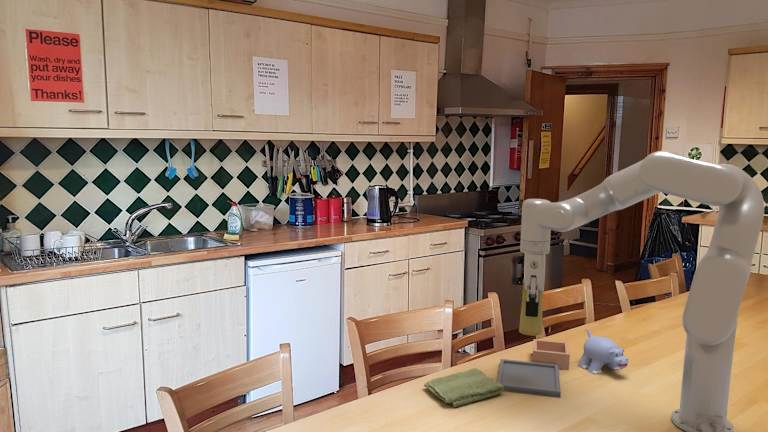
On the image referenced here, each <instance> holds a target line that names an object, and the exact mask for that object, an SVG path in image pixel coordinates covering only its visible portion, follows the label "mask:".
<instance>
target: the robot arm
mask: <svg viewBox="0 0 768 432" xmlns="http://www.w3.org/2000/svg"><path fill="white" fill-rule="evenodd" d="M661 193H664V194H666V195H669V196H673V197H677V198H681V199H684V200H688V201H691V202H696V203H699V204H702V205H706V206H711V207H718V213H717V218H716V220H715V224H714V227H713V233H712V236H711V240H710V242H709V245H708V247H707V248H708V249H707V251H706V253H705V254H704V255H703V257H702V258H701V259H700V260H699V262H698V263H697V266H696V269H695V271H694V274H693V277H692V278H693V279H692V281H691V285H690V288H689V292H688V295H687V298H686V303H685V306H684V309H683V313H682V317H681V321H682V322H681V323H682V328H683V329H684V331H685V333H686V337H685V345H684V346H685V347H684V356H683V367H682V378H681V379H682V380H681V387H680V389H681V391H680V401H679V408H677V409H674V410H673V411H672V412H671V417H670V419H671V421H672V423H673V424H674V425H675V426H676V427H678V428H679V429H680V430H683V431H684V432H734V425H733V423H732V422H731V421H730V420H729V419H728V417H727V415H728V408H729V407H728V406H729V396H730V388H731V387H730V386H731V377H732V368H733V367H732V366H733V360H734V353H735V352H734V351H735V342H736V336H737V335H736V334H737V328H738V322H739V321H738V319H739V309H740V307H741V303H742V300H743V296H744V295H745V294H744V293H745V291H746V288H747V284H748V281H749V279H750V276H751V271H752V263H753V258H754V255H755V252H756V248H757V245H758V241H759V237H760V233H761V229H762V225H763V221H764V217H765V203H764V201H765V200H764V197H763V194H762V192H761V188H760V186H759V185H758V183H757V182H756V181H755V180H754V179H753V178H752V177H751V175H750V174H748V173H747V172H746V171H745V170H743V169H742V168H740V167H738V166H736V165H734V164H729V163H717V164H715V163H710V162H706V161H701V160H698V159H692V158H689V157H685V156H682V154H680V153H679V152H677V151H675V150H671V149H670V150H669V149H668V150H667V149H666V150H665V149H664V150H657V151H655V152H652V153H650V154H648V155H647V156H646V157H644V159H641V160H639V161H638V162H636V163H633V164H632V165H629V166H628V167H626V168H623V169H621V170H619V171H616V172H614V173H613V174H611V175H608V176H607V177H606V178H605V179H603V181H602V182H601V183H600V184H598V185H596V186H594V187H593V188H591V189H588V190H587V191H585V192H582V193H581V194H579V195H576V196H574V197H571V198H568V199H565V200H561V201H556V202H552V201H550V200H548V199H545V198H544V199H543V198H528V199H525V200H524V201H523V202H522V204H521V205H522V206H521V223H520V245H519V246H520V250H519V251H520V252H521V253H524V259H523V260H524V262H523V263H524V264H523V265H524V266H523V275H524V277H523V279H524V282H525V289H526V290H527V289H528V290H527V301H526V311H525V315H526V316H529V317H538V305H539V302H538V288H539V290H541V292H543V293H544V291H545V280H546V278H545V277H546V255H548V254H550V251H551V236H552V235H551V232H552V231H553V232H554V231H555V232H559V233H561V232H562V233H565V232H569V231H571V230H574V229H576V228H579V227H581V226H583V225H586V224H588V223H590V222H592V221H594V220H596V219H599V218H601V217H603V216H606V215H607V214H610V213H613V212H615V211H620V210H624V209H626V208H628V207H631V206H633V205H635V204H637V203H639V202H642V201H644V200H646V199H649V198H651V197H653V196H655V195H658V194H661ZM527 286H528V287H527ZM529 288H531V290H529ZM535 288H537V290H535ZM529 292H530V294H529ZM535 293H536V294H535Z"/></svg>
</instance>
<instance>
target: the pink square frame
mask: <svg viewBox="0 0 768 432" xmlns="http://www.w3.org/2000/svg"><path fill="white" fill-rule="evenodd" d="M532 362H536V363H545V364H555V365H558V368H559V370H560V369H561V370H568V371H569V370H570V346H569V342H567V341H556V340H548V339H539V338H538V339H535V338H534V339H533V341H532Z"/></svg>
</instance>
